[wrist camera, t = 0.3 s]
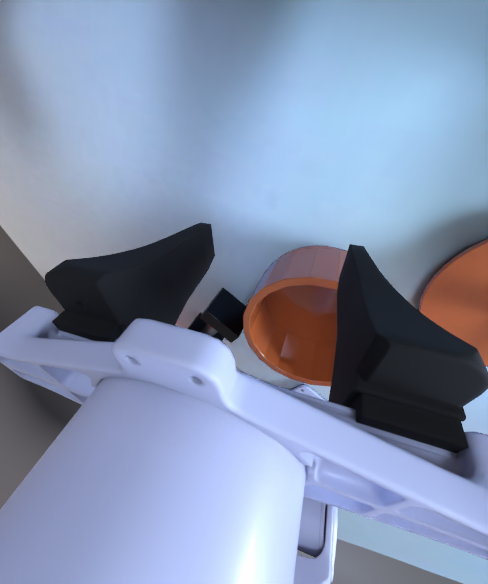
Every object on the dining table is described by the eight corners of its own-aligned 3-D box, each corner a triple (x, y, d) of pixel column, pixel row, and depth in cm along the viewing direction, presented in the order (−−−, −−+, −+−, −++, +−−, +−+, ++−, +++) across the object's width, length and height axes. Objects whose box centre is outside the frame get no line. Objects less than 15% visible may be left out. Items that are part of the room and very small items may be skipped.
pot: (315, 357, 30) (309, 399, 26) (240, 294, 29) (219, 327, 24) (414, 307, 23) (430, 355, 18) (318, 217, 21) (309, 245, 17)
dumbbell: (220, 338, 35) (206, 362, 31) (195, 318, 34) (177, 341, 31) (252, 311, 30) (238, 336, 26) (223, 287, 29) (205, 310, 26)
